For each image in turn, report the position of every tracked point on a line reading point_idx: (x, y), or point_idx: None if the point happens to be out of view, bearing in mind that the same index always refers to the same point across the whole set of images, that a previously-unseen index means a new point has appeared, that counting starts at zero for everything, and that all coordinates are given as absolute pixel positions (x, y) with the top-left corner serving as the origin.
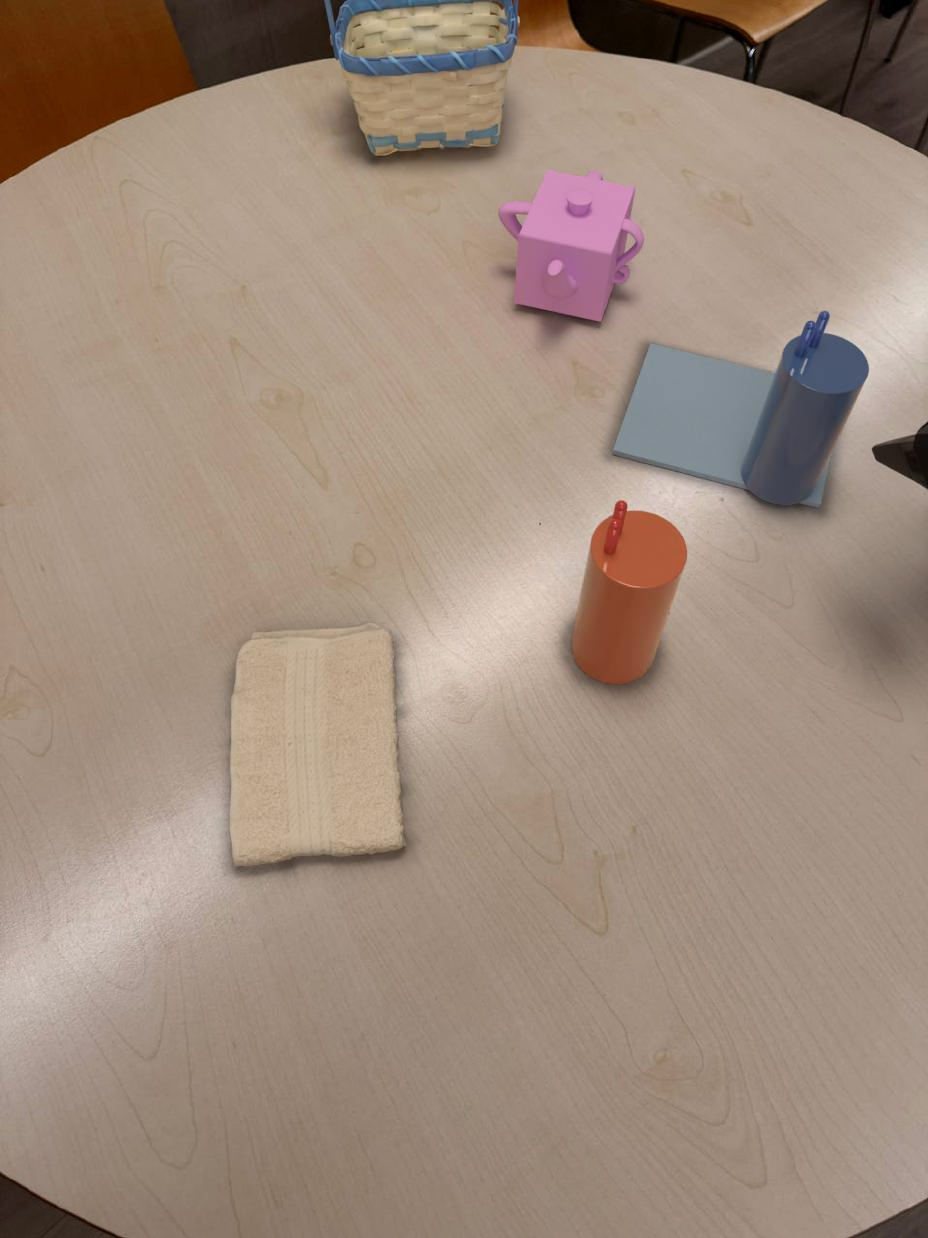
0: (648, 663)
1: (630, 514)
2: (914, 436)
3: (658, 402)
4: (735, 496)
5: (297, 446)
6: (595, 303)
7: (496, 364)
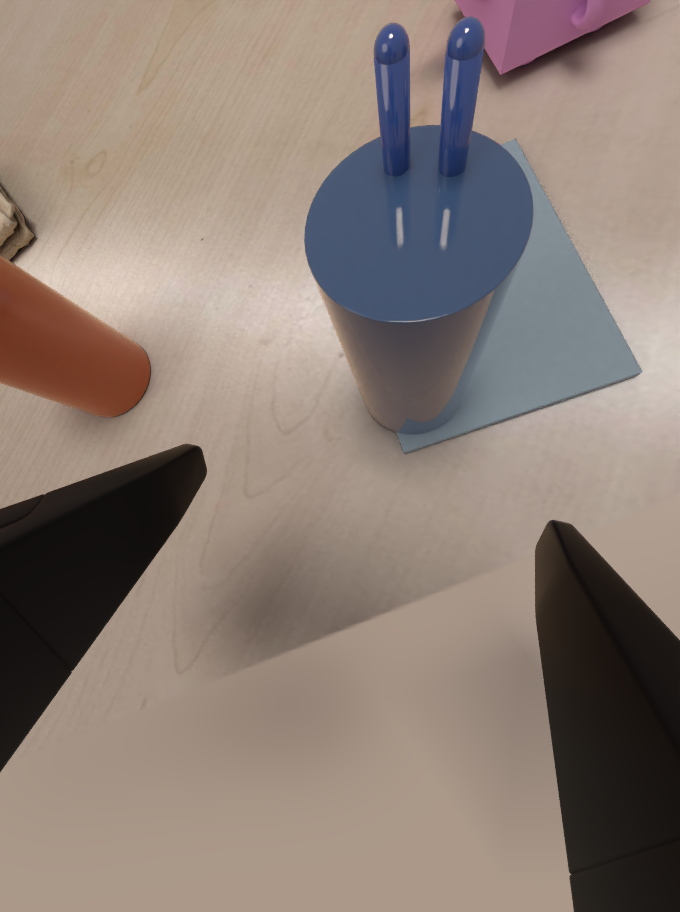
0: (86, 411)
1: None
2: (10, 524)
3: None
4: None
5: (164, 43)
6: (502, 30)
7: (362, 65)
